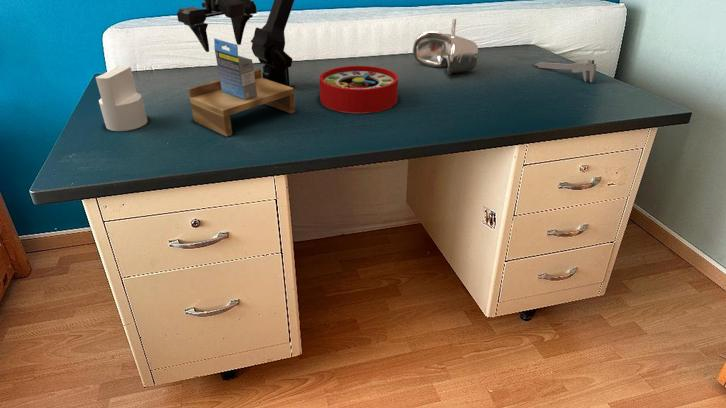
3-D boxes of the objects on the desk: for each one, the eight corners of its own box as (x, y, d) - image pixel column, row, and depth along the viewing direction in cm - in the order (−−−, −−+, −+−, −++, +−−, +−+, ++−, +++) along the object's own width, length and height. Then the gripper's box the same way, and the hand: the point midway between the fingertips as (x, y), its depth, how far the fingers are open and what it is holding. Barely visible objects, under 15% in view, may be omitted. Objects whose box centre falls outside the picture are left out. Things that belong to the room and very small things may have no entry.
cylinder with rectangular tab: (133, 132, 112) (120, 79, 106) (97, 129, 113) (81, 77, 107) (155, 117, 120) (143, 67, 113) (120, 115, 121) (107, 65, 115)
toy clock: (304, 82, 123) (341, 62, 139) (305, 105, 126) (341, 82, 142) (379, 94, 116) (409, 71, 132) (378, 118, 119) (408, 93, 135)
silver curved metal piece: (411, 65, 157) (413, 16, 150) (439, 59, 163) (442, 12, 155) (449, 79, 144) (454, 27, 137) (479, 73, 150) (484, 22, 142)
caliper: (593, 83, 142) (598, 60, 139) (590, 83, 142) (596, 61, 138) (536, 65, 157) (540, 45, 153) (534, 66, 156) (537, 45, 153)
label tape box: (258, 96, 115) (251, 41, 108) (243, 100, 112) (236, 44, 106) (234, 87, 120) (227, 34, 113) (220, 92, 117) (211, 38, 111)
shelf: (261, 99, 130) (258, 68, 126) (295, 111, 123) (293, 79, 119) (193, 121, 117) (187, 88, 113) (226, 136, 110) (221, 101, 106)
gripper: (197, -13, 105) (209, 62, 113) (268, -22, 117) (274, 46, 125) (169, -18, 112) (182, 53, 120) (239, -26, 123) (246, 39, 132)
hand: (223, 48), depth 124 cm, fingers open, 9 cm apart
